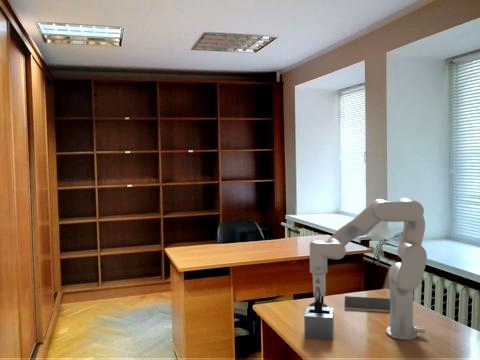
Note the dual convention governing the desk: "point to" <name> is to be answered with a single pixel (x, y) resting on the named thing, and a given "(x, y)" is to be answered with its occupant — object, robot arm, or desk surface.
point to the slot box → (319, 323)
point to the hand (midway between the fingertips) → (319, 306)
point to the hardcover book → (367, 304)
